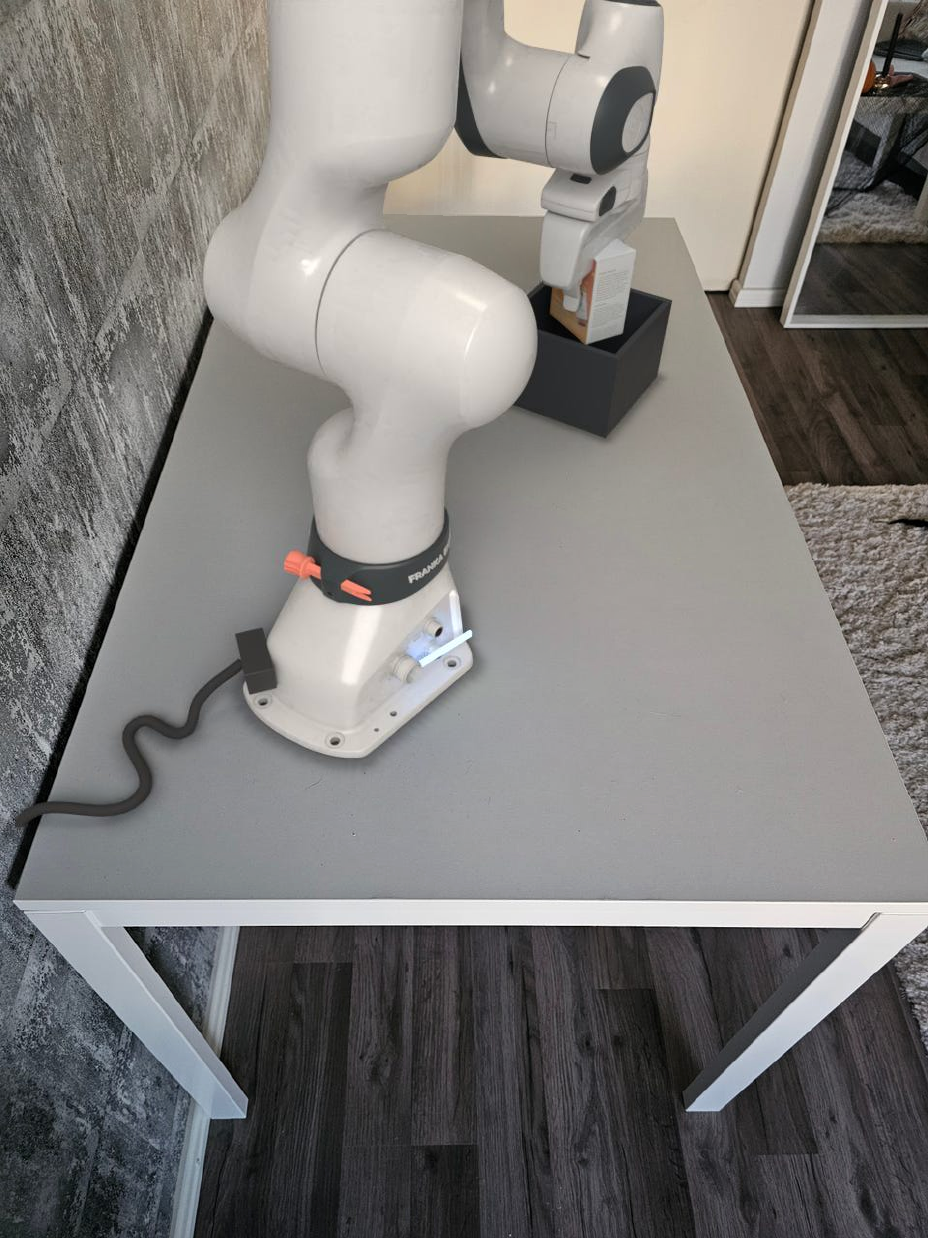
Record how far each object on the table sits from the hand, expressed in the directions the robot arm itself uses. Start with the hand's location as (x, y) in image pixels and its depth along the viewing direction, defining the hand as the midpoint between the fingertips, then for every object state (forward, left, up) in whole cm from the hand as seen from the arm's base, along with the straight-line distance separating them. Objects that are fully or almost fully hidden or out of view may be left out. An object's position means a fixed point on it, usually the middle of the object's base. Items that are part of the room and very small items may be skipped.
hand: (588, 292), depth 107 cm
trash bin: (0, 0, -13) cm, 13 cm away
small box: (0, 0, -4) cm, 4 cm away
